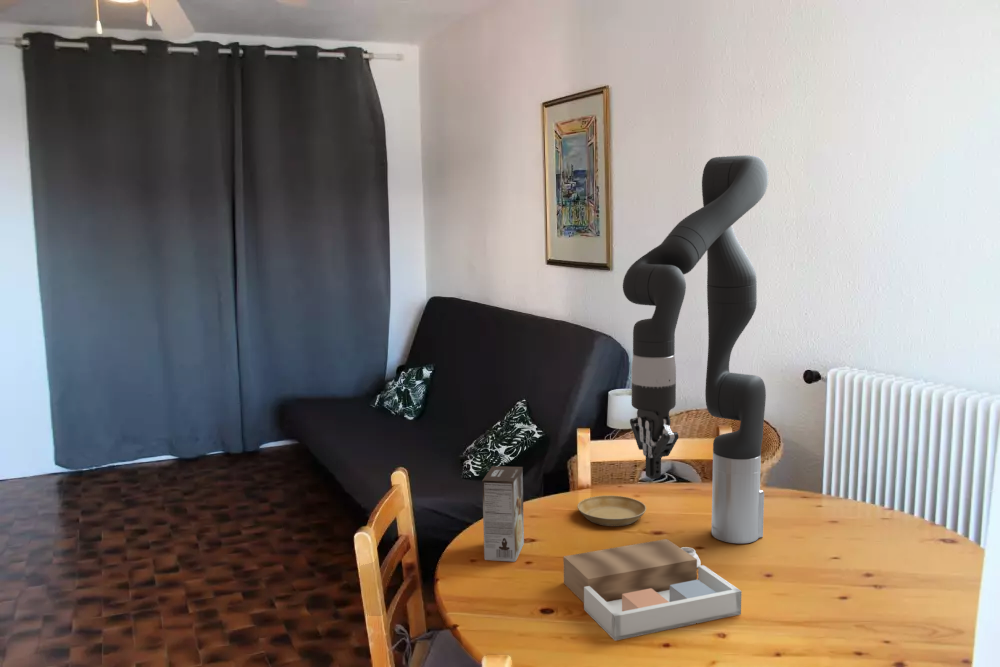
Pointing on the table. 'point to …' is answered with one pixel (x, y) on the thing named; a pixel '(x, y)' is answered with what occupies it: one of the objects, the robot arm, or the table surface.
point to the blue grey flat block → (688, 590)
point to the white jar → (692, 554)
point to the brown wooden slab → (629, 569)
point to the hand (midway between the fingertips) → (653, 477)
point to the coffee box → (503, 513)
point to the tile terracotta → (641, 599)
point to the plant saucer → (612, 510)
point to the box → (665, 609)
